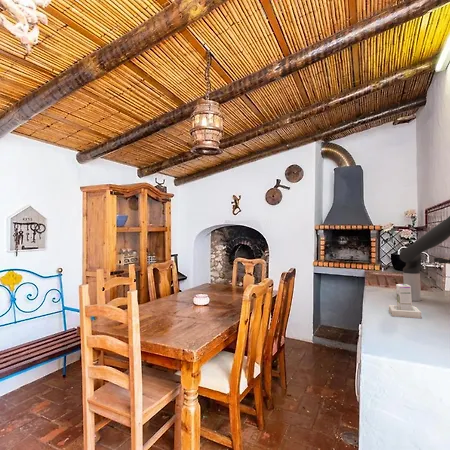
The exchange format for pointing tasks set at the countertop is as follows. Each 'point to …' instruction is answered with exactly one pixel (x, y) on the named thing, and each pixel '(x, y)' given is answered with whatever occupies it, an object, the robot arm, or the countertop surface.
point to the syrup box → (404, 297)
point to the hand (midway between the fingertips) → (436, 260)
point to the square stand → (404, 312)
